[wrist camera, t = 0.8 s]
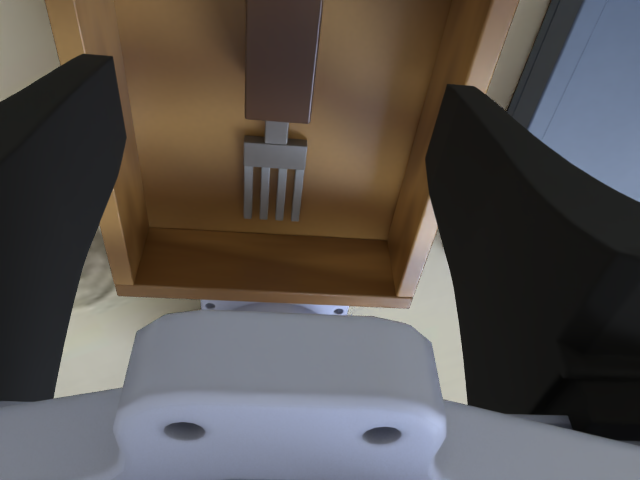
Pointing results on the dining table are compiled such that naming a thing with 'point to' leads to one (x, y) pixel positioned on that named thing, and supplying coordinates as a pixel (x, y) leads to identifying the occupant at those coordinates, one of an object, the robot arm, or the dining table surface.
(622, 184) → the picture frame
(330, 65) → the wooden box
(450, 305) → the dining table surface
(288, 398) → the robot arm
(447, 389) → the dining table surface
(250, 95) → the fork
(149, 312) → the dining table surface
